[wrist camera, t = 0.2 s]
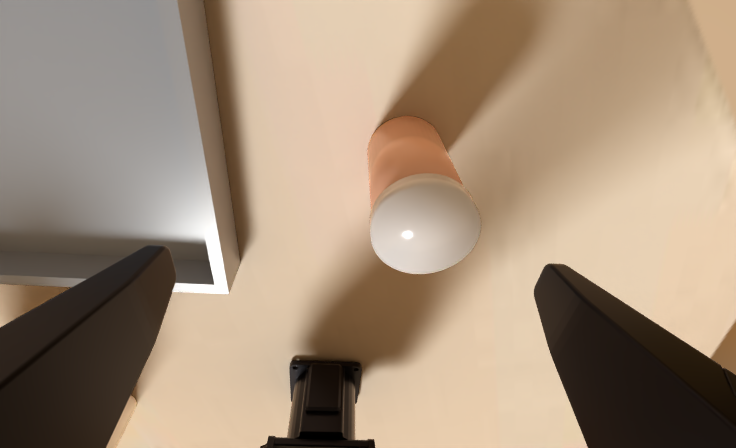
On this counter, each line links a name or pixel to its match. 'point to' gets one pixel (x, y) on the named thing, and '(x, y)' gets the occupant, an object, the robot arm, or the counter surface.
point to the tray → (111, 142)
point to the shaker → (417, 199)
